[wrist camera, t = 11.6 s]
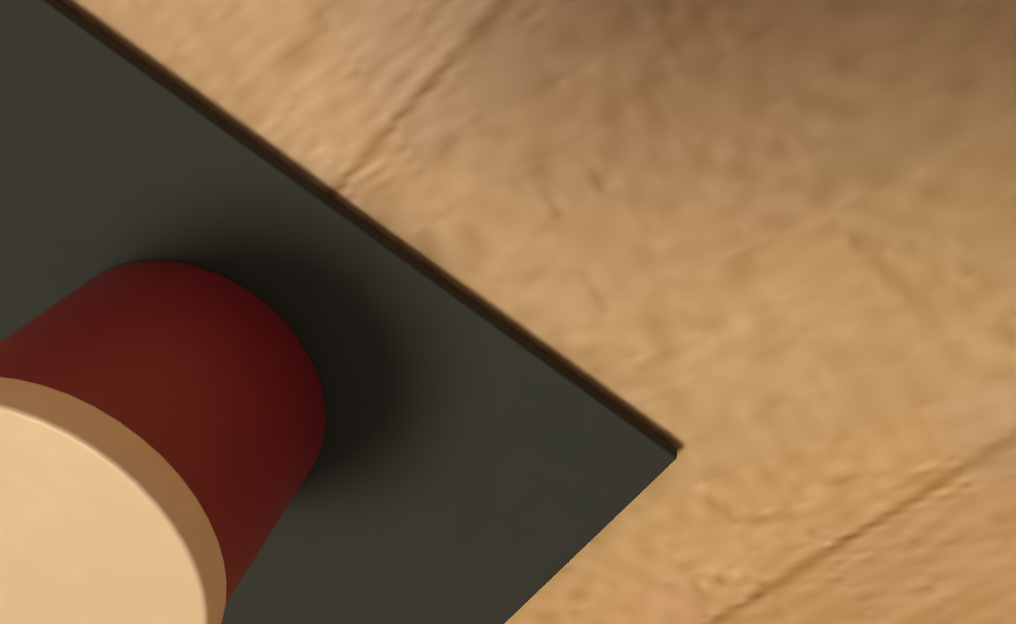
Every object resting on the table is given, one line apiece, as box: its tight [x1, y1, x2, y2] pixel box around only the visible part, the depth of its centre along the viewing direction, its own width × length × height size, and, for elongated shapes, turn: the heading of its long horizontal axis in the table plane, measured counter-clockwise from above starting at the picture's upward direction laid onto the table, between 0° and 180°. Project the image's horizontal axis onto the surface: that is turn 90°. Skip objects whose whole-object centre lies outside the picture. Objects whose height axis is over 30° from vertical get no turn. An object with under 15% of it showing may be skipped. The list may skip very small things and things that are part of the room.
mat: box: [0, 0, 677, 624], centre depth 21 cm, size 18×12×1 cm, turn 55°
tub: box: [0, 261, 326, 624], centre depth 18 cm, size 7×7×6 cm
